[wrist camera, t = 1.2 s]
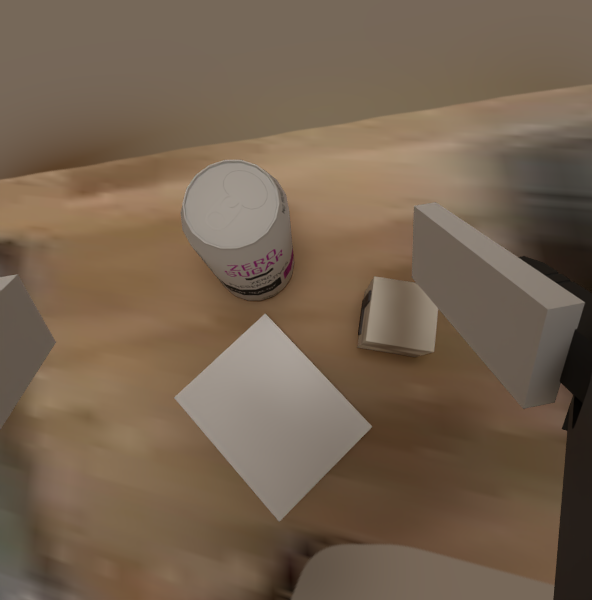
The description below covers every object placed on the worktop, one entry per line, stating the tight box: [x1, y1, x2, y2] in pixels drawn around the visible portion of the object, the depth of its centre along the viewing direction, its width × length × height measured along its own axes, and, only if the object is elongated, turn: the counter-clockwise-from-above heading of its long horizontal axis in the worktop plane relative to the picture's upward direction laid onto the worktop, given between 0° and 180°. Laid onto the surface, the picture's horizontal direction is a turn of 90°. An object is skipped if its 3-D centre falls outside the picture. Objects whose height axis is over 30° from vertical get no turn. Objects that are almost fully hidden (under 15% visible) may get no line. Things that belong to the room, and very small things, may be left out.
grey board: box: [174, 314, 372, 522], centre depth 39 cm, size 15×12×2 cm
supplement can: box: [181, 160, 294, 300], centre depth 36 cm, size 8×8×15 cm
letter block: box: [357, 276, 438, 357], centre depth 38 cm, size 6×6×6 cm
